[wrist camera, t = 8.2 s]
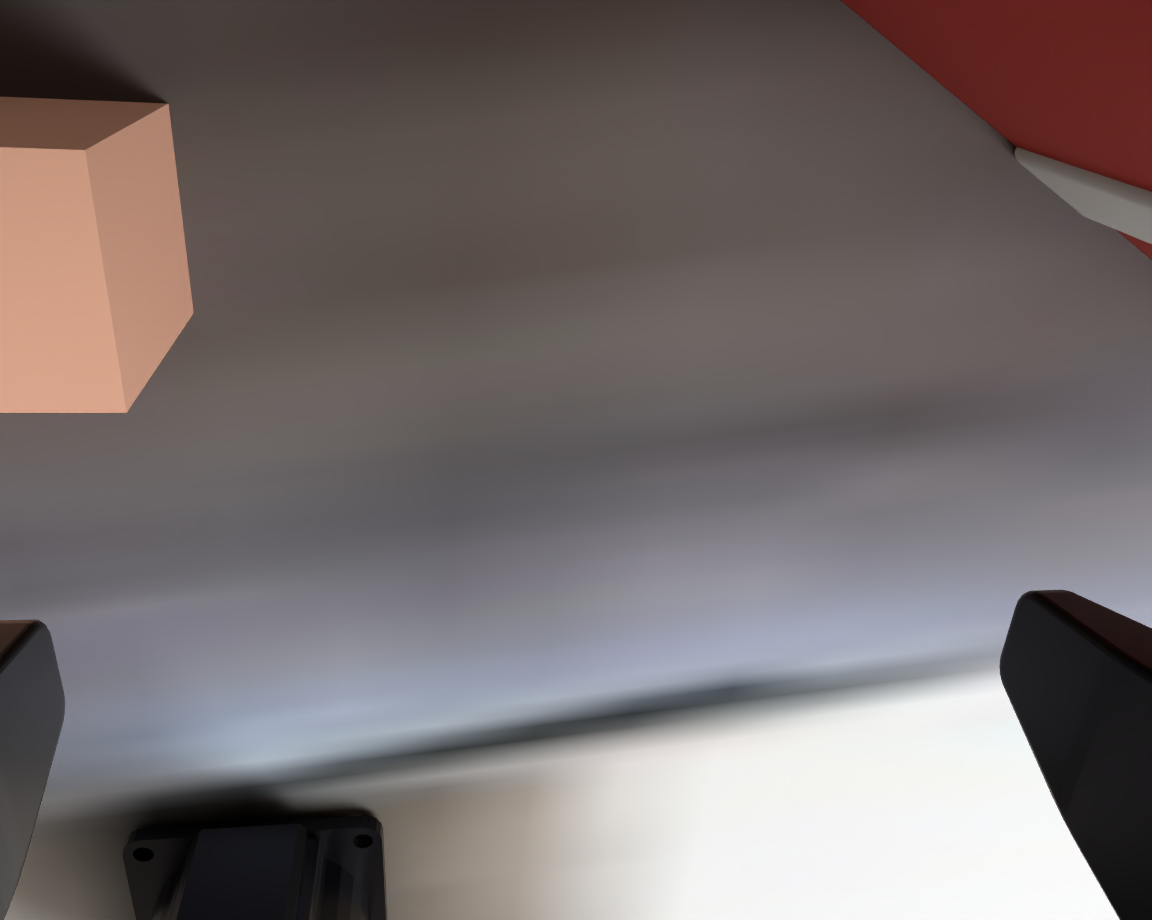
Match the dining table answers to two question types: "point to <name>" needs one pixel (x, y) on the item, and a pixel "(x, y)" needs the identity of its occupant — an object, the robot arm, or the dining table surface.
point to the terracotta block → (87, 253)
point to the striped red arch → (1048, 89)
